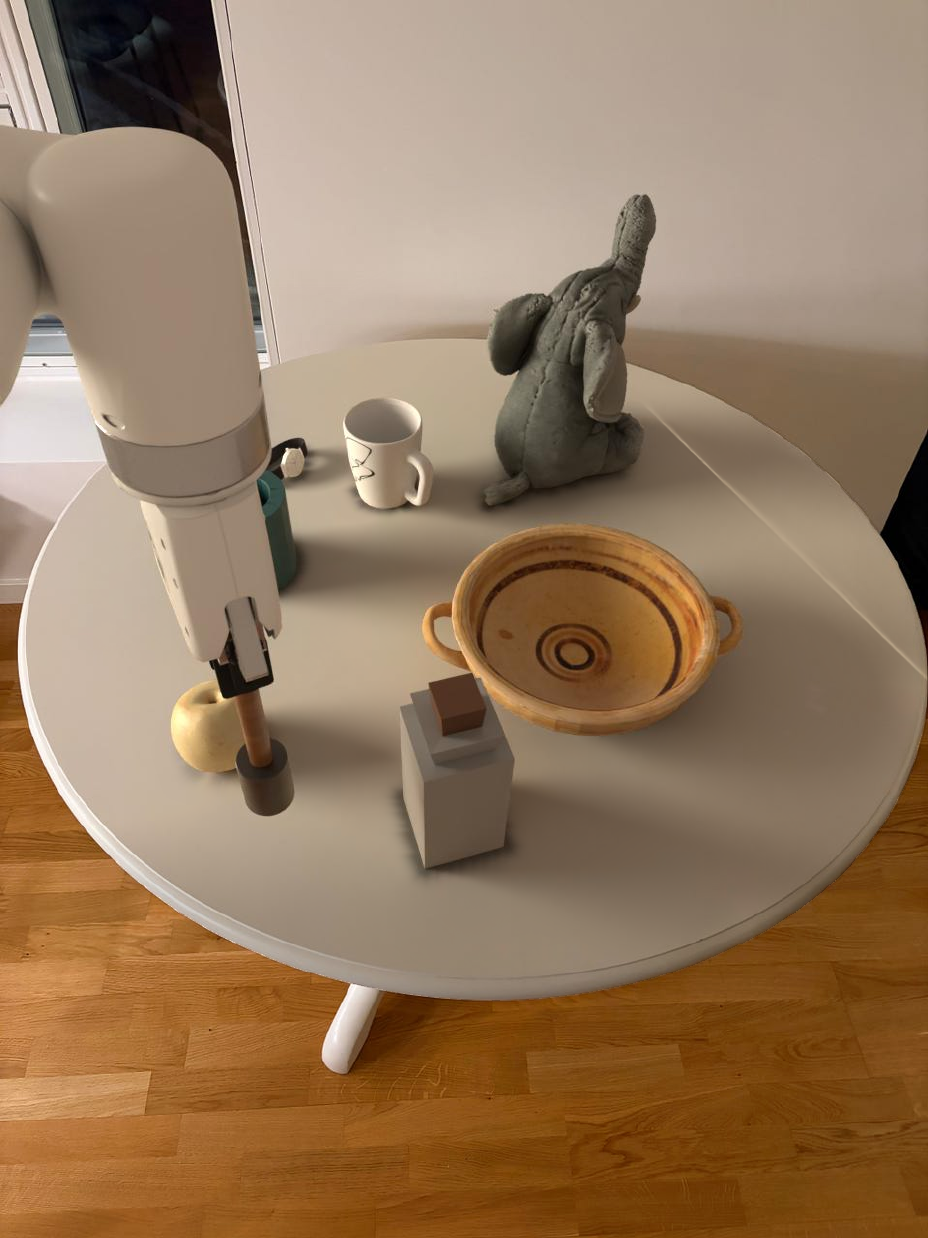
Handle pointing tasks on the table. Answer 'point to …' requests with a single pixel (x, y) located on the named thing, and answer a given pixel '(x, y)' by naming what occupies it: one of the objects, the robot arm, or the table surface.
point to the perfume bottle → (455, 770)
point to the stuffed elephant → (570, 369)
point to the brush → (261, 760)
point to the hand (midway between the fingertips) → (241, 673)
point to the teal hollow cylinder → (277, 526)
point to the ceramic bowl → (584, 628)
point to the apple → (207, 728)
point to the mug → (387, 452)
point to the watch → (289, 457)
